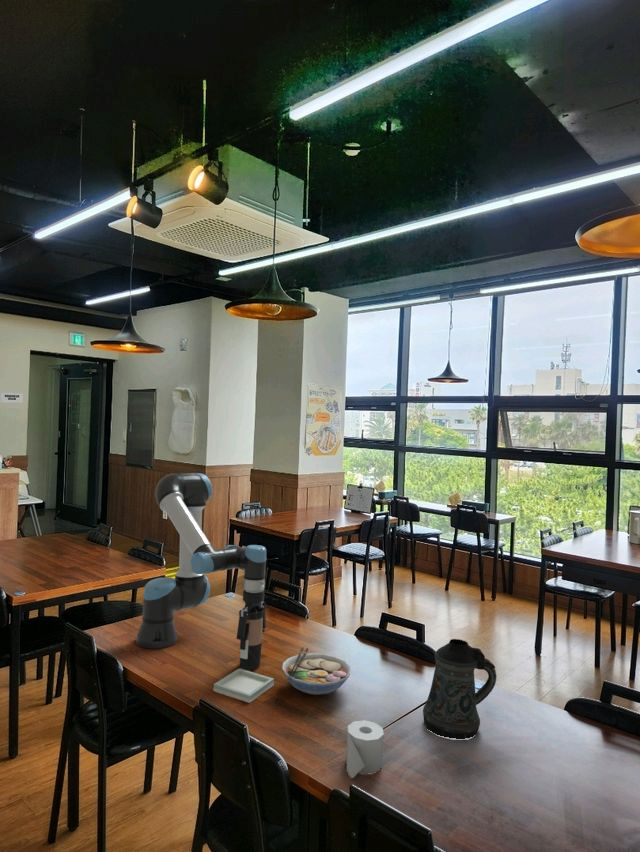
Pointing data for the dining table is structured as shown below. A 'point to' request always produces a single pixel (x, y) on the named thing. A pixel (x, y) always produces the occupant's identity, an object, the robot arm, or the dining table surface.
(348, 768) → the toilet tissue
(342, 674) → the ramen bowl
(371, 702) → the dining table surface
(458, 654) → the beer stein
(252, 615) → the travel mug
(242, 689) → the square plate
